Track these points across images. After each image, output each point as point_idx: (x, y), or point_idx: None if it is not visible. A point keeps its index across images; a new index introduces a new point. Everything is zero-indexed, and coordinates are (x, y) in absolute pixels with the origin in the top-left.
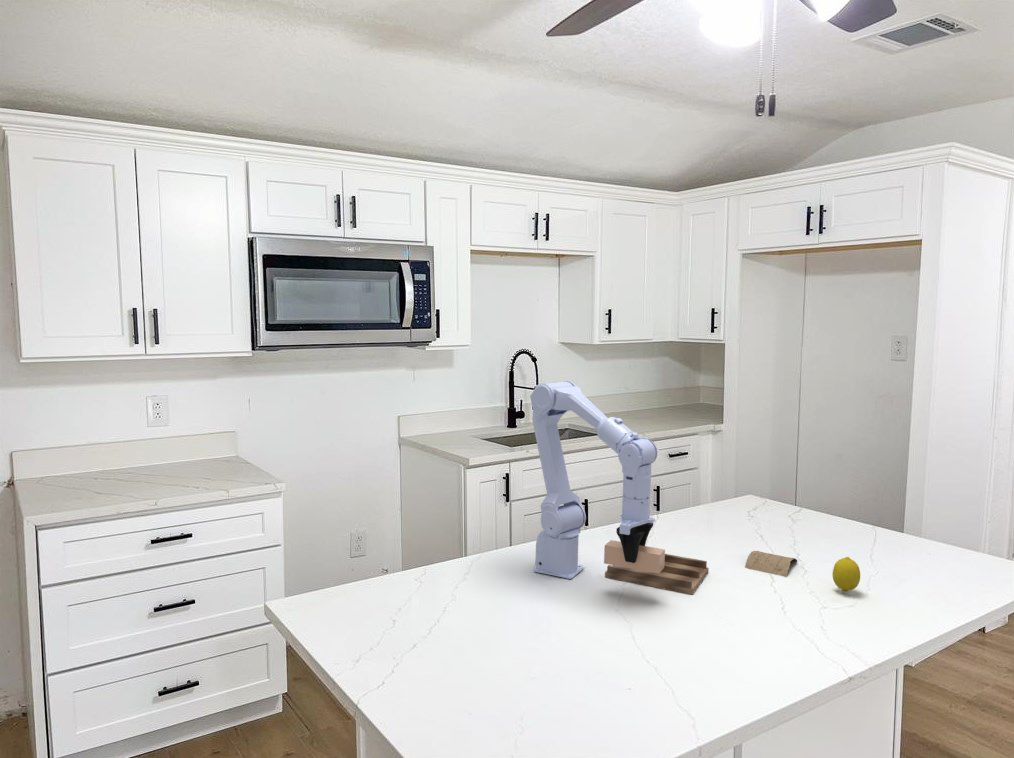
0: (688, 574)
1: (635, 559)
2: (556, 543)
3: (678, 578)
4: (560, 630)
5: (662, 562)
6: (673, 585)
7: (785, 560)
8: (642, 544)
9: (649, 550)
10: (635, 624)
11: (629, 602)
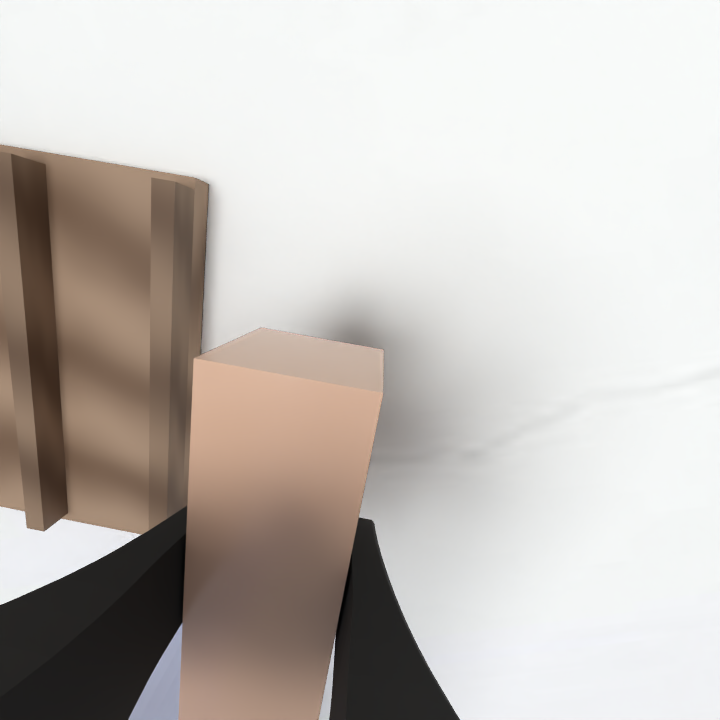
0: (39, 214)
1: (373, 534)
2: None
3: (154, 251)
4: (688, 593)
5: (296, 347)
6: (191, 273)
7: None
8: (176, 555)
9: (289, 488)
10: (590, 380)
11: (388, 423)
